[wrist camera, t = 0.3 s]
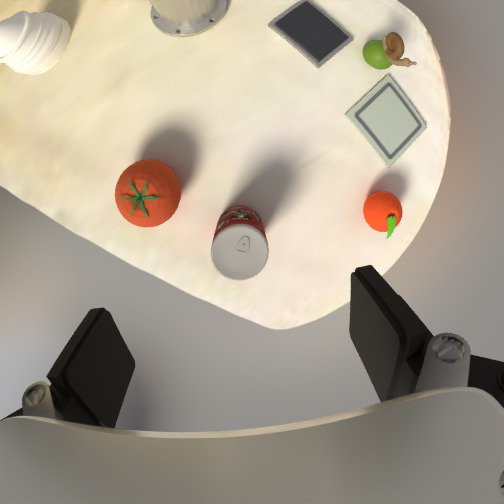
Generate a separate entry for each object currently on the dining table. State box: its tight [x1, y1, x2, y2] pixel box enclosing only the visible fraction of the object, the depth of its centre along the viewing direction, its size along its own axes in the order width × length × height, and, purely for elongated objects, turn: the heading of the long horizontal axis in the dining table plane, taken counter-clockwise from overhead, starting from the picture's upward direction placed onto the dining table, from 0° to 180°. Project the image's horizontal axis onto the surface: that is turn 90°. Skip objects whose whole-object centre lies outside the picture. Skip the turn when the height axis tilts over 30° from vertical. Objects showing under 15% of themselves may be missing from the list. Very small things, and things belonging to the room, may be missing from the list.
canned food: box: [211, 206, 269, 280], centre depth 42 cm, size 8×8×11 cm
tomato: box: [115, 160, 181, 227], centre depth 39 cm, size 10×10×10 cm
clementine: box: [363, 191, 402, 238], centre depth 43 cm, size 8×7×7 cm
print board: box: [345, 75, 427, 168], centre depth 39 cm, size 12×12×1 cm
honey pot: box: [0, 11, 71, 75], centre depth 21 cm, size 13×13×18 cm
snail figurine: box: [363, 32, 417, 69], centre depth 30 cm, size 5×6×12 cm
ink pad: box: [268, 0, 353, 68], centre depth 33 cm, size 11×9×2 cm
